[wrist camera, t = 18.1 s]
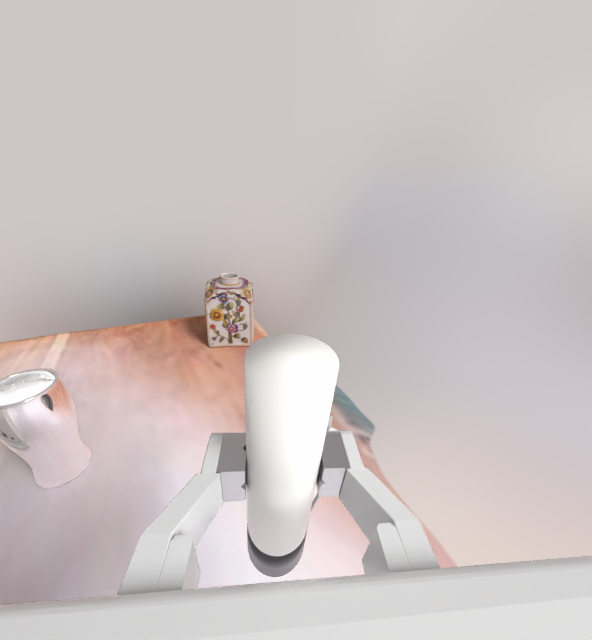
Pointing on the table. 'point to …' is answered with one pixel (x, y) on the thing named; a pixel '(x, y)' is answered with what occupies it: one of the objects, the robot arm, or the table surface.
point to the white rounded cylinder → (284, 442)
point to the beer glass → (42, 426)
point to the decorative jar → (229, 311)
